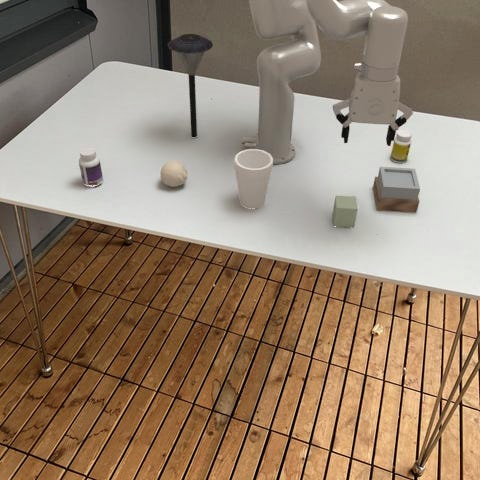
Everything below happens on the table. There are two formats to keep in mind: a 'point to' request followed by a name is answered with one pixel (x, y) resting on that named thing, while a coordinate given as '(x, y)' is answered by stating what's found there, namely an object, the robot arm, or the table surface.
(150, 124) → the table surface
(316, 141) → the table surface
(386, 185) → the grey block
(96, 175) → the pill bottle
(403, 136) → the supplement bottle
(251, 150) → the foam cup
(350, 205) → the sage block
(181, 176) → the cream round ball
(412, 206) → the walnut block
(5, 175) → the table surface
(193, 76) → the solar garden light
